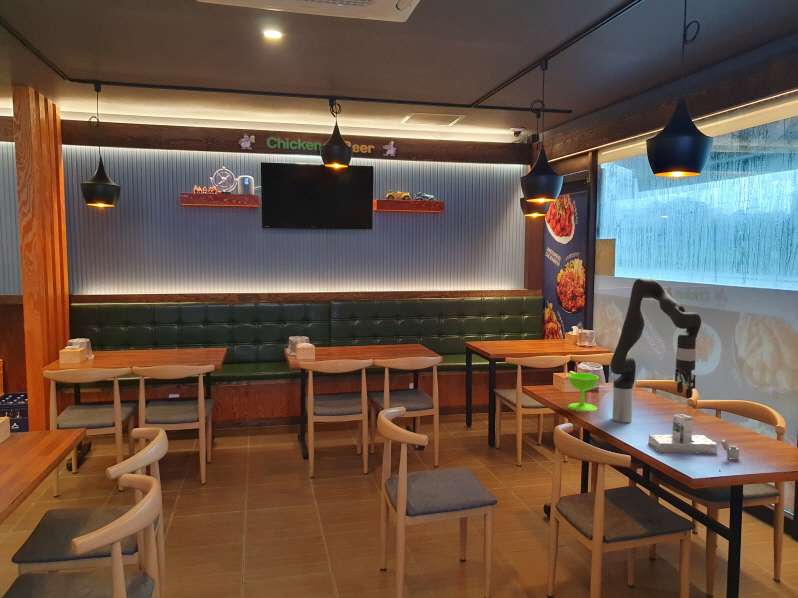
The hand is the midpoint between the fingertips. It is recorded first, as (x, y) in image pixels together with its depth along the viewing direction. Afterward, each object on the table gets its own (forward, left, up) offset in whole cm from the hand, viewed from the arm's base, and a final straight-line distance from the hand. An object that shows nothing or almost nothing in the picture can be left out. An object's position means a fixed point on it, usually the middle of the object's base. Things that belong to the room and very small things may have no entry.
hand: (684, 395), depth 247 cm
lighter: (+12, +14, -24) cm, 30 cm away
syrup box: (0, 0, -24) cm, 24 cm away
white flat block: (0, 0, -24) cm, 24 cm away
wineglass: (-63, -26, -24) cm, 72 cm away
